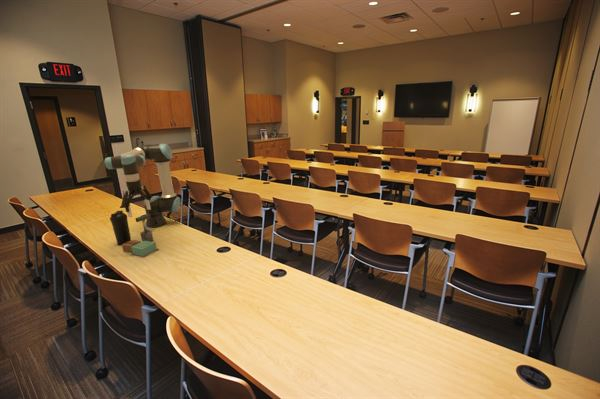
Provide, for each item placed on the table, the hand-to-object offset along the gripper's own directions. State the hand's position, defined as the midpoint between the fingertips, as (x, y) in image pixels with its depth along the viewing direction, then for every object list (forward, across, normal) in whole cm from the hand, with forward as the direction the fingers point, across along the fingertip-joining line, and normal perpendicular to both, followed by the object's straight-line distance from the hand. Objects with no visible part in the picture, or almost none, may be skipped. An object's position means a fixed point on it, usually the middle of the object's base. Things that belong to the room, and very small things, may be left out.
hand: (140, 213), depth 185 cm
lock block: (+27, -10, -11) cm, 31 cm away
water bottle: (+27, -4, -27) cm, 39 cm away
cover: (+26, +2, 0) cm, 26 cm away
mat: (+26, +2, 0) cm, 27 cm away
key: (+18, -9, -7) cm, 22 cm away
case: (+27, +2, -11) cm, 29 cm away
